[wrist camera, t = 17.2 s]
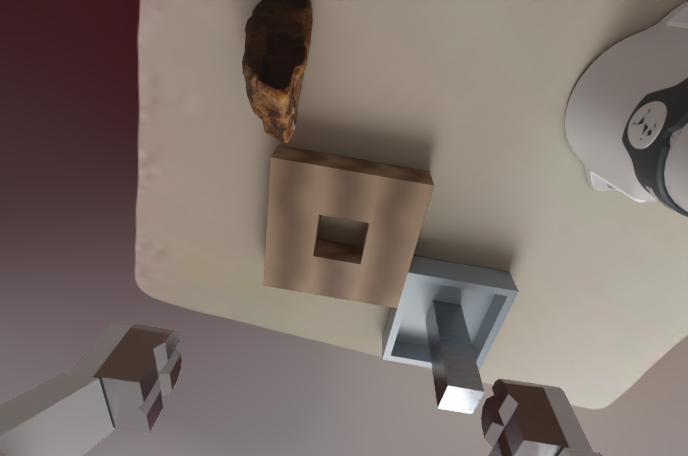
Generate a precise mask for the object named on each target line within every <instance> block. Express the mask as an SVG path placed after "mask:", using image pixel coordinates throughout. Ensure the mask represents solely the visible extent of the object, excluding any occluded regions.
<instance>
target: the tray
mask: <svg viewBox="0 0 688 456" xmlns="http://www.w3.org/2000/svg"><path fill="white" fill-rule="evenodd" d="M517 293H518V289H517V287H516V285H515V283H514V281H513V279H512V277H511V275H510V273H509V272H505V271H499V270H494V269H488V268H482V267H476V266H470V265H464V264H459V263H453V262H447V261H441V260H435V259H429V258H424V257H418V256H413V258H412V261H411V265H410V268H409V271H408V275H407V278H406V281H405V285H404V288H403V291H402V295H401V298H400V302H399V305H398V308H393V307H391V310H390V313H389V317H388V320H387V324H386V327H385V331H384V334H383V338H382V359H383V360H390V361H395V362H401V363H407V364H413V365H419V366H425V367H431V368H432V364H431V357H430V350H429V343H428V336H427V329H426V322H425V320H426V318H427V315H428V312H429V309H430V306H431V304H432V301H433V300H436V301H442V302H448V303H453V304H459V305H461V307H462V310H463V314H464V318H465V322H466V325H467V329H468V333H469V336H470V340H471V344H472V348H473V351H474V355H475V359H476V363H477V366H478V370H480V368H481V366H482V364H483V362H484V360H485V358H486V356H487V354H488V352H489V350H490V348H491V346H492V344H493V342H494V340H495V338H496V336H497V334H498V332H499V330H500V328H501V326H502V324H503V322H504V320H505V318H506V316H507V314H508V312H509V310H510V308H511V305H512V303H513V301H514V299H515V297H516V295H517Z"/></svg>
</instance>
